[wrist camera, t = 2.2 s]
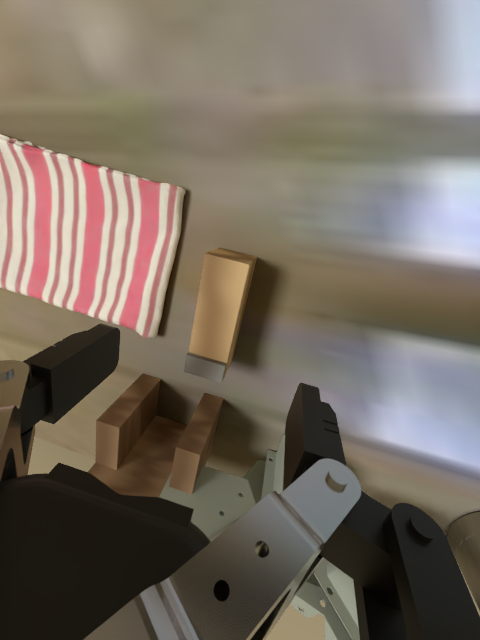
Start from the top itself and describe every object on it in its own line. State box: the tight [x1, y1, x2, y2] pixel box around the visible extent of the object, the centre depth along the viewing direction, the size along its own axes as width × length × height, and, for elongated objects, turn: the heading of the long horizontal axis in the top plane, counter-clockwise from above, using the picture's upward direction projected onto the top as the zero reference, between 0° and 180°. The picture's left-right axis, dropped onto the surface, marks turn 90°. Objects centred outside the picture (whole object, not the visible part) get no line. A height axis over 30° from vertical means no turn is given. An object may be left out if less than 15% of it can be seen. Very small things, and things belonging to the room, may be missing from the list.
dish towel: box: [0, 134, 186, 338], centre depth 30 cm, size 17×23×4 cm
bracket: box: [159, 434, 360, 640], centre depth 27 cm, size 28×7×20 cm, turn 79°
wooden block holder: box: [88, 374, 223, 497], centre depth 31 cm, size 11×8×14 cm
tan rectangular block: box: [184, 248, 257, 383], centre depth 28 cm, size 4×12×6 cm, turn 167°
